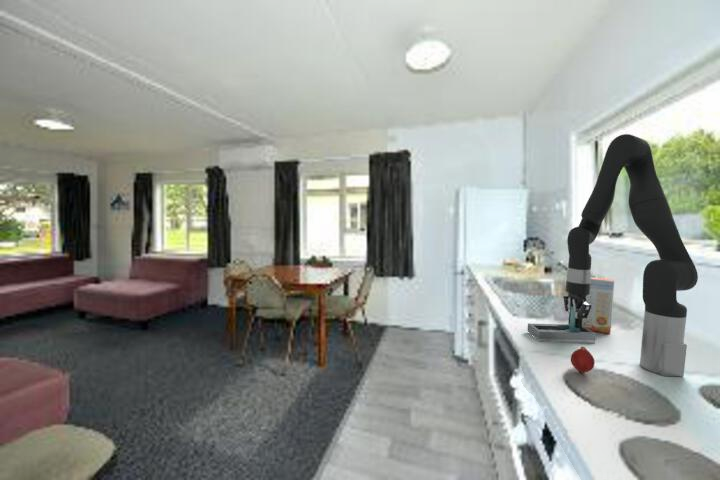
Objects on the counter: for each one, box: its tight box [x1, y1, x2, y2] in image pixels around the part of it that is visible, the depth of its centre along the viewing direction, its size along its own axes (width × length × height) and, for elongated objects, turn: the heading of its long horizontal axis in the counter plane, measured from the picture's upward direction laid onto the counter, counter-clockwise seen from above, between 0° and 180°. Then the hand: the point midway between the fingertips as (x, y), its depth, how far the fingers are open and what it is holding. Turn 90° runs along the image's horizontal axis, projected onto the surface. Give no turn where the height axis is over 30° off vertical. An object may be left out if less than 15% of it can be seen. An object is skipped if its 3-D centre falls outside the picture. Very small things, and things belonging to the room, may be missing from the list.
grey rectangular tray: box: [527, 323, 597, 344], centre depth 127 cm, size 9×20×4 cm, turn 88°
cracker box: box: [568, 276, 615, 335], centre depth 137 cm, size 14×6×21 cm, turn 52°
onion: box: [570, 346, 595, 374], centre depth 98 cm, size 6×6×8 cm
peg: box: [566, 307, 581, 332], centre depth 126 cm, size 6×6×10 cm
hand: (574, 326), depth 126 cm, fingers closed on peg, 3 cm apart
